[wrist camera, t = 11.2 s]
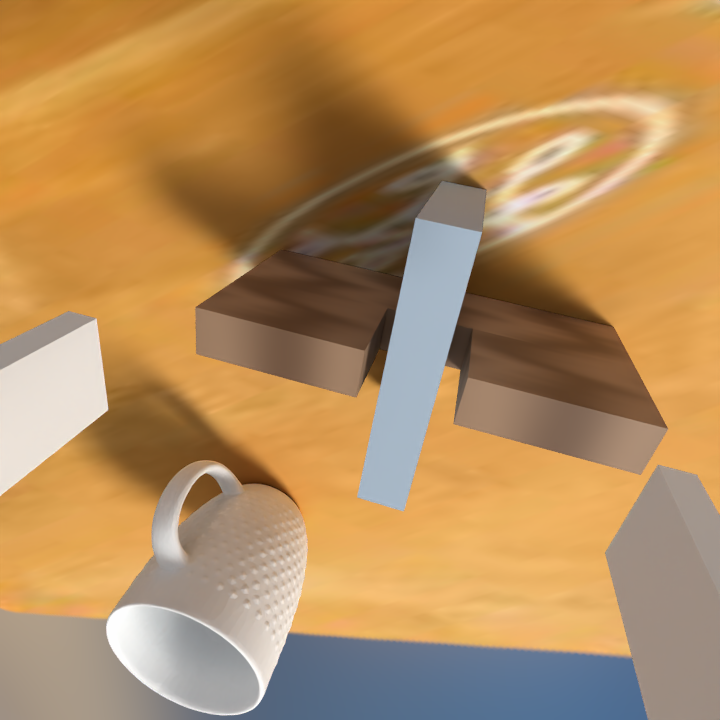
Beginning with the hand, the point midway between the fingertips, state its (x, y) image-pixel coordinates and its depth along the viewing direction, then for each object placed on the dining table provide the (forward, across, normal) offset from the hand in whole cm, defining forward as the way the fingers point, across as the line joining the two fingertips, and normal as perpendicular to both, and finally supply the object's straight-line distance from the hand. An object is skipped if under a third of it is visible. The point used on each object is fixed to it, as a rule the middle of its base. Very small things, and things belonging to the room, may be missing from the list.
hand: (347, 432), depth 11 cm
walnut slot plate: (+19, +1, -4) cm, 19 cm away
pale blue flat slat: (+19, +1, -4) cm, 19 cm away
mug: (+19, -9, -25) cm, 32 cm away
